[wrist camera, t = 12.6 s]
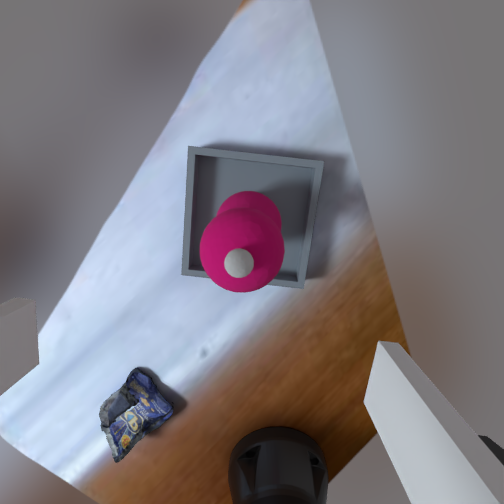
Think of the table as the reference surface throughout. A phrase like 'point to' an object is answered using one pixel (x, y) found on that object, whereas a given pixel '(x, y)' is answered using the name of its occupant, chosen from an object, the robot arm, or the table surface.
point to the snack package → (133, 413)
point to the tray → (259, 180)
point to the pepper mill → (243, 243)
